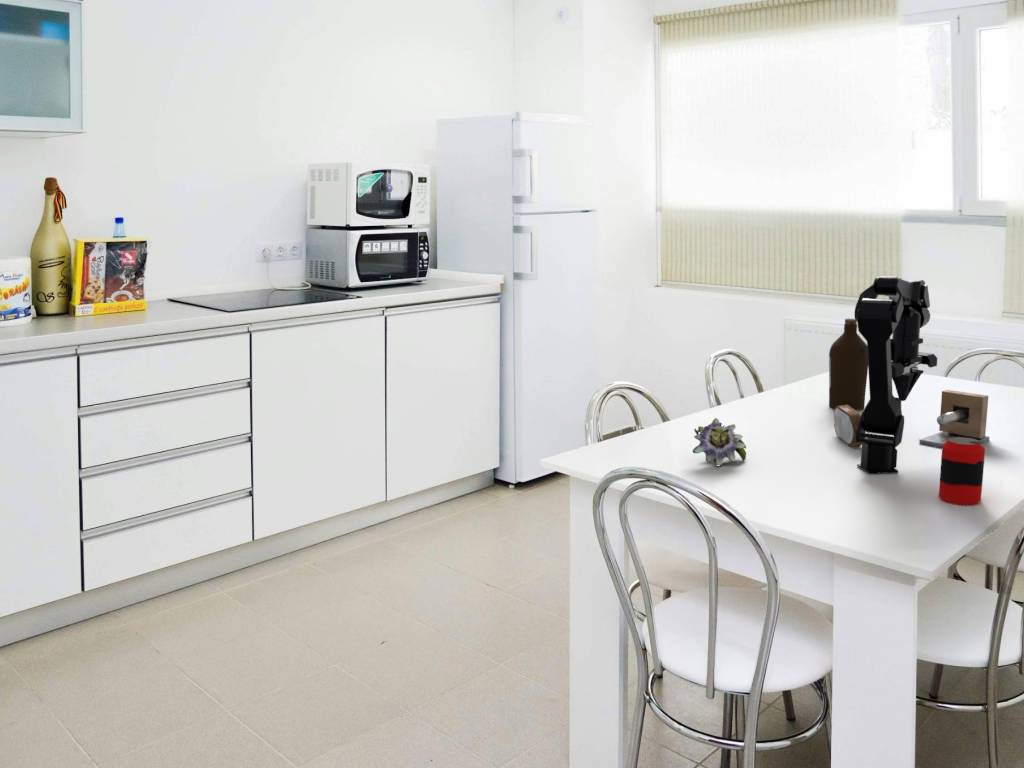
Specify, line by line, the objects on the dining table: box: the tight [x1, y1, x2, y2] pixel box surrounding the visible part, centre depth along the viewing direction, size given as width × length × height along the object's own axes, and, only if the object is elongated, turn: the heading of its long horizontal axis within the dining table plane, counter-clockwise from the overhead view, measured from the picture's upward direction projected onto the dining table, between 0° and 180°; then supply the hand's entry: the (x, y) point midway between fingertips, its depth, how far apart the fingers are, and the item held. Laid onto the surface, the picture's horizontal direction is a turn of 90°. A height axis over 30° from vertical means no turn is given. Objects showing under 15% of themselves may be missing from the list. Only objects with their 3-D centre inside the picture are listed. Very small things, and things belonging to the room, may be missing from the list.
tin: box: [833, 405, 862, 447], centre depth 231 cm, size 15×3×8 cm, turn 179°
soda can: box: [938, 437, 986, 506], centre depth 186 cm, size 8×8×12 cm
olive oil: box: [828, 318, 869, 411], centre depth 266 cm, size 11×11×25 cm
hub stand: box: [918, 391, 991, 449], centre depth 229 cm, size 14×10×11 cm
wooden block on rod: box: [938, 389, 989, 438], centre depth 230 cm, size 2×10×10 cm, turn 39°
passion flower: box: [692, 417, 747, 466], centre depth 217 cm, size 11×11×12 cm
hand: (902, 400), depth 221 cm, fingers closed
